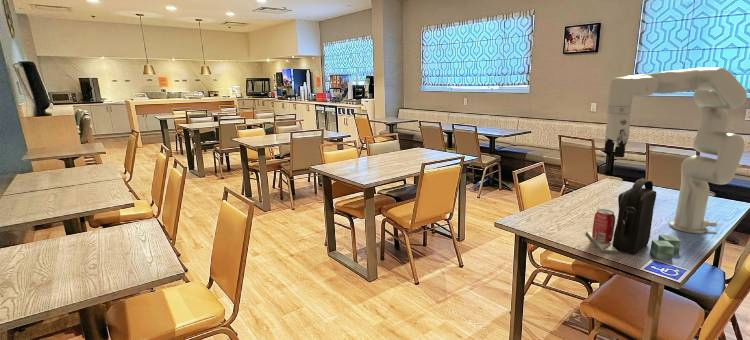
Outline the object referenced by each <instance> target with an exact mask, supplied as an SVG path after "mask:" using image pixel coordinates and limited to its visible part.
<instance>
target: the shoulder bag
mask: <svg viewBox="0 0 750 340" xmlns="http://www.w3.org/2000/svg"><path fill="white" fill-rule="evenodd" d="M656 198H657V191H655V190H654V183H653V181H652V180H649V179H646V178H643V177H641V178H638V179H637V180H636V181H635V182H634V183H633V185H632V186H631V188H629V189H627V190H625V191H623V192H621V193H619V195H618V197H617V201H618V203H617V204H618V215H617V220H616V221H617V222H616V225H615V227H614V232H613V238H612V243H611V244H612V246H613V247H615V248H616V250H617V251H618V252H621V253H625V254H627V255H632V256H634V255H637V254H638V253H639V252H641V251H642V250H643V249H645V248H647V247H648V244H649V241H650V237H651V230H652V223H653V218H654V217H653V216H654V208H655V205H656V204H655V203H656Z"/></svg>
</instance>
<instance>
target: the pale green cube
mask: <svg viewBox="0 0 750 340" xmlns="http://www.w3.org/2000/svg"><path fill="white" fill-rule="evenodd" d="M657 240H658V241H668V242H669V243H670V244H672V245H673V246H674V252H673V254H679V253H680V249H681V244H682V243H681V242H682V240H680V239H679V238H678V237H677V236H675V235H672V234H671V235H669V234H659V235H658V239H657Z"/></svg>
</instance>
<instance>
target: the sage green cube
mask: <svg viewBox="0 0 750 340" xmlns="http://www.w3.org/2000/svg"><path fill="white" fill-rule="evenodd" d="M673 252H674V246H673V245H672V244H670V243H669V242H668V241H658V239H657V240H656V239H652V240H651V244H650V250H649V253H650V254H651V255H652V256H653V257H654V258H656V259H663V260H673V256H674V253H673Z"/></svg>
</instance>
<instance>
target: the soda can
mask: <svg viewBox="0 0 750 340" xmlns="http://www.w3.org/2000/svg"><path fill="white" fill-rule="evenodd" d="M593 218H594V219H593V225H592V231H591V232H592V238H593V239H595V240H596V241H598V242H602V243H608V242H610V243H611V242H613V238H614V232H615V226H616V225H615V223H616V215H615V212H614V211H612V210H609V209H605V208H604V209H603V208H601V209H600V208H599V209H597V210H596V212H595V214H594V217H593Z"/></svg>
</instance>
